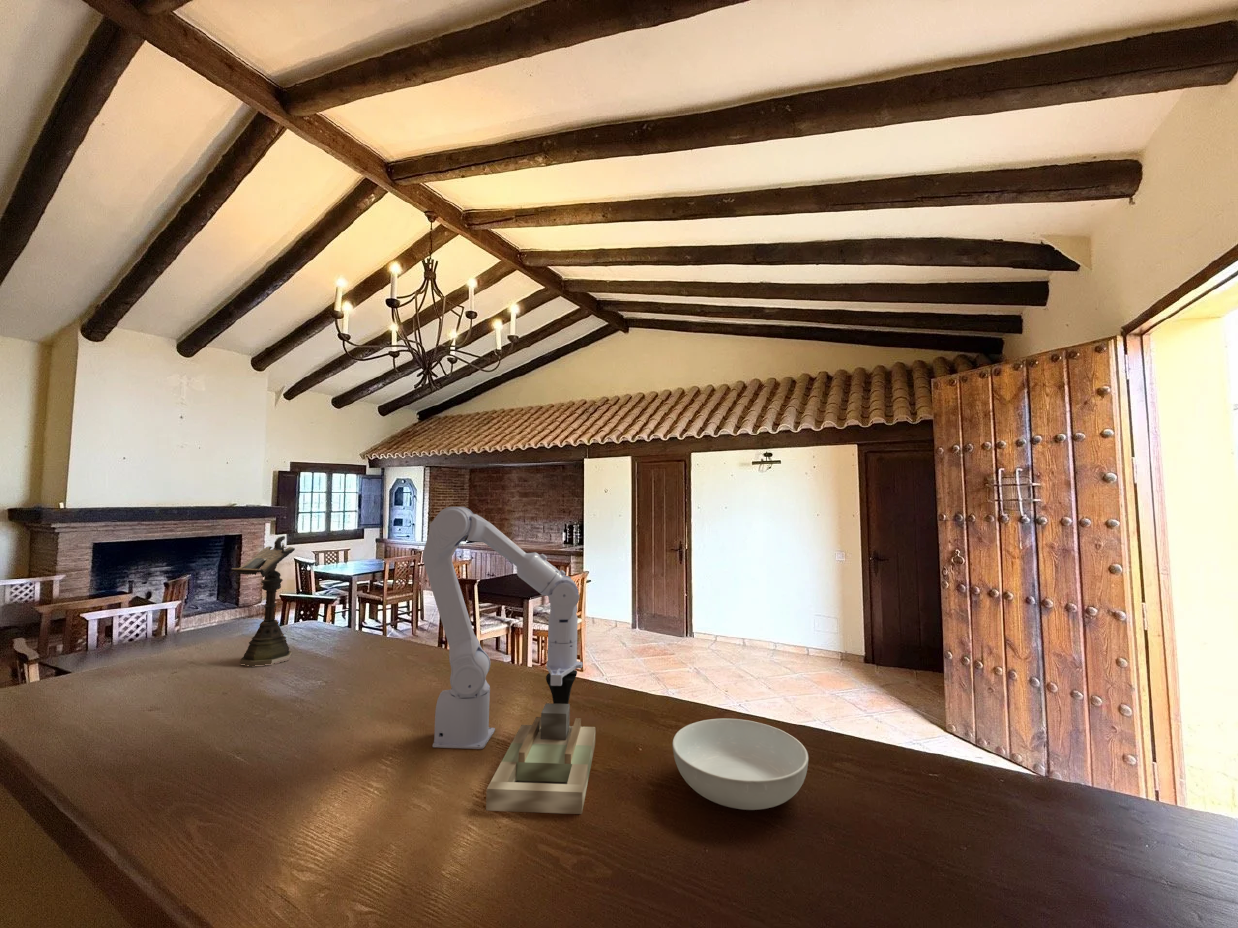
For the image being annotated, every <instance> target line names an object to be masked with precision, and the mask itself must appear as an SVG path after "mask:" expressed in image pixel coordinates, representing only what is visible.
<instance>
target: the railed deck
mask: <svg viewBox="0 0 1238 928" xmlns="http://www.w3.org/2000/svg"><path fill="white" fill-rule="evenodd" d="M595 746H596V726H582V718H580V717H579V718H578V717H575V718H574V723H573V725H572V726H571V725H569V732H568V735H567V738H566V740H546V739H541V716H536V717H535V719H534V721H533V723H532V724H520V727H519V729H518V731H517V733H515V736H514V738H513V740H512V741H511V743H510V745H509V747H508V749H507V750H506V752H505V754H504V756H503V758H502V760H501V762H500V764H499V765H498V767H497V769H496V771H495V773H494V775H493V777H492V779H491V781H490V782H489V784H488V786H487V788H486V801H485V811H492V812H493V811H494V812H515V813H518V812H519V813H520V812H521V813H543V814H544V813H545V814H548V813H549V814H571V815H582V814H583V809H584V804H585V799H586V794H587V789H588V788H587V787H588V784H589V783H588V782H589V777H590V773H591V772H590V771H591V769H592V768H591V767H592V761H593V757H594V752H595Z"/></svg>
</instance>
